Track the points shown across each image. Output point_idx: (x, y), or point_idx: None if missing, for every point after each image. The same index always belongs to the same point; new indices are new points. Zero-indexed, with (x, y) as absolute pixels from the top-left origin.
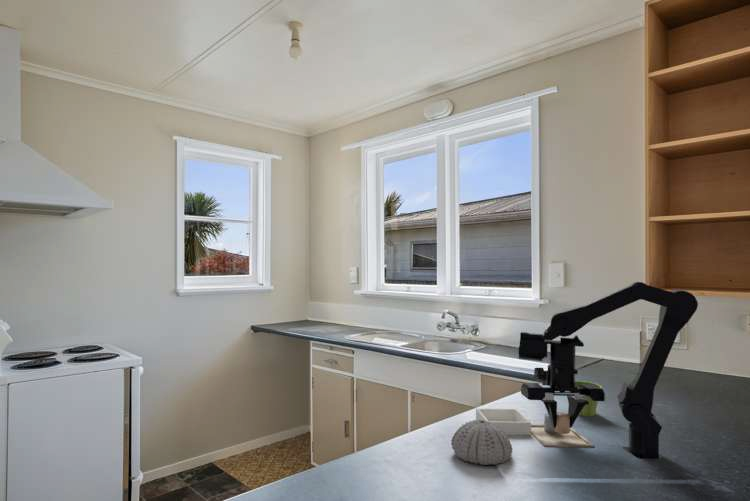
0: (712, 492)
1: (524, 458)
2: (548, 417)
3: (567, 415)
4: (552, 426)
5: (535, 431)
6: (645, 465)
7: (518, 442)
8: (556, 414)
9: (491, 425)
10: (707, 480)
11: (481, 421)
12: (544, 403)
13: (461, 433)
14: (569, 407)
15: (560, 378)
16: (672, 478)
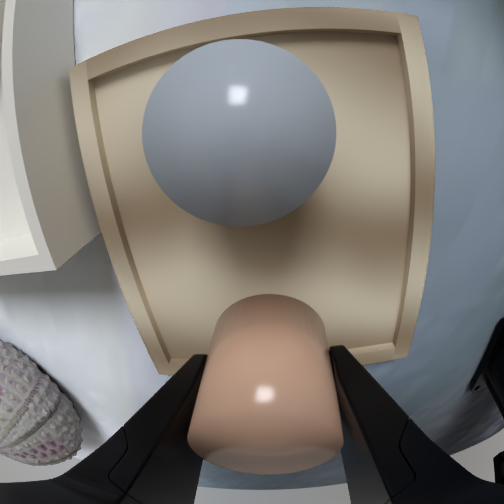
0: (461, 449)
1: (110, 406)
2: (179, 201)
3: (313, 457)
4: (196, 354)
5: (128, 162)
6: (459, 404)
7: (66, 300)
8: (194, 489)
9: (13, 458)
10: (499, 417)
11: None
12: (65, 486)
13: None
14: (374, 489)
15: None
16: (451, 435)
